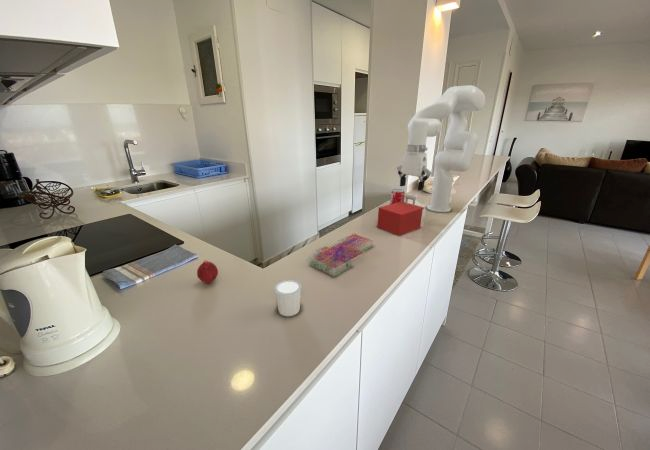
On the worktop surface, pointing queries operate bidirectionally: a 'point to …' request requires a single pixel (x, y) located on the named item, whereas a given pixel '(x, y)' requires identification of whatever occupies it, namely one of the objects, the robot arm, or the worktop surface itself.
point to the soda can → (397, 196)
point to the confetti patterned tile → (346, 250)
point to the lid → (402, 207)
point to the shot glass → (288, 297)
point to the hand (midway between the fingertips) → (411, 187)
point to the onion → (207, 271)
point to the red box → (399, 222)
